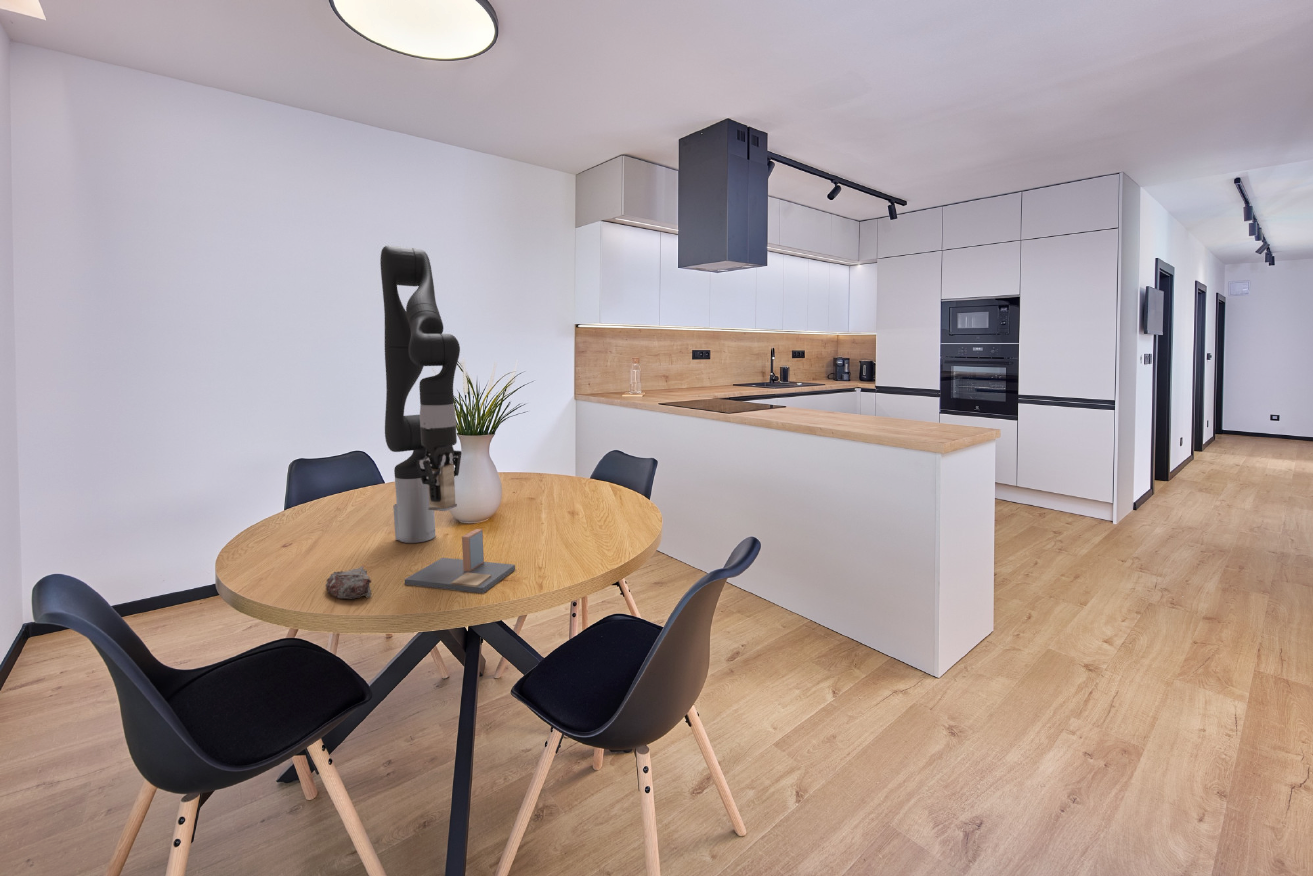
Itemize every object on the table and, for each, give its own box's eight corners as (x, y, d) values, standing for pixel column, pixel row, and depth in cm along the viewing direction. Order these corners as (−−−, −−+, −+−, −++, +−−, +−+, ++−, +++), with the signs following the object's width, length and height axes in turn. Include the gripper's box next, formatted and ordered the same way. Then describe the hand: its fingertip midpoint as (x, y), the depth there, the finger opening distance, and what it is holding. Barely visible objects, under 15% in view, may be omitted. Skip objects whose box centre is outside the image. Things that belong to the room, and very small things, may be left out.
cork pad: (451, 584, 127) (451, 582, 127) (466, 574, 133) (466, 572, 133) (476, 587, 125) (476, 585, 125) (491, 576, 131) (491, 574, 131)
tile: (463, 571, 134) (461, 536, 133) (477, 561, 140) (476, 528, 139) (470, 571, 134) (468, 537, 133) (484, 562, 140) (483, 529, 139)
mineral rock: (324, 585, 130) (322, 565, 129) (364, 577, 134) (363, 558, 134) (329, 610, 118) (328, 588, 117) (374, 601, 122) (372, 580, 121)
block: (428, 509, 135) (426, 466, 134) (440, 504, 140) (438, 462, 138) (445, 511, 134) (443, 467, 133) (456, 506, 138) (454, 463, 137)
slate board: (404, 584, 130) (404, 579, 130) (442, 562, 143) (442, 557, 143) (483, 593, 125) (483, 587, 125) (515, 569, 139) (514, 564, 138)
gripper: (442, 419, 142) (446, 490, 144) (402, 427, 128) (407, 505, 131) (470, 421, 140) (473, 492, 142) (433, 429, 126) (437, 508, 129)
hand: (442, 498), depth 137 cm, fingers closed on block, 4 cm apart
